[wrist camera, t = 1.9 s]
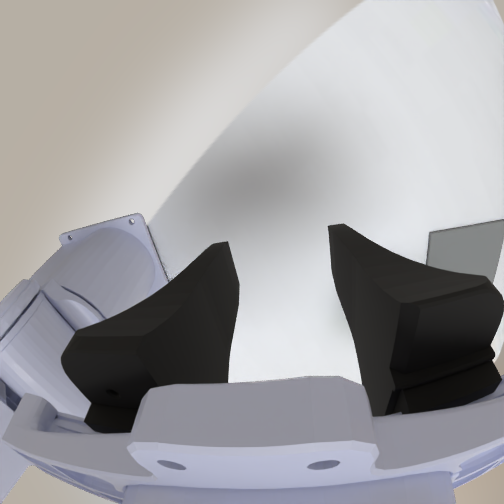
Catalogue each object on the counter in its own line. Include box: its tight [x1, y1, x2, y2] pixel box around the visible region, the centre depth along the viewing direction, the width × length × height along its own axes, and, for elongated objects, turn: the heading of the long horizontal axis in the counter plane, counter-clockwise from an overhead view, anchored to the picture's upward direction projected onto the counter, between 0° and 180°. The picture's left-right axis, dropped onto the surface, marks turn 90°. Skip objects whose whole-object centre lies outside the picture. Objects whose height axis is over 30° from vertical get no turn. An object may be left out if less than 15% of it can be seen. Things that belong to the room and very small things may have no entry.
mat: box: [426, 219, 504, 284], centre depth 24 cm, size 10×12×1 cm
